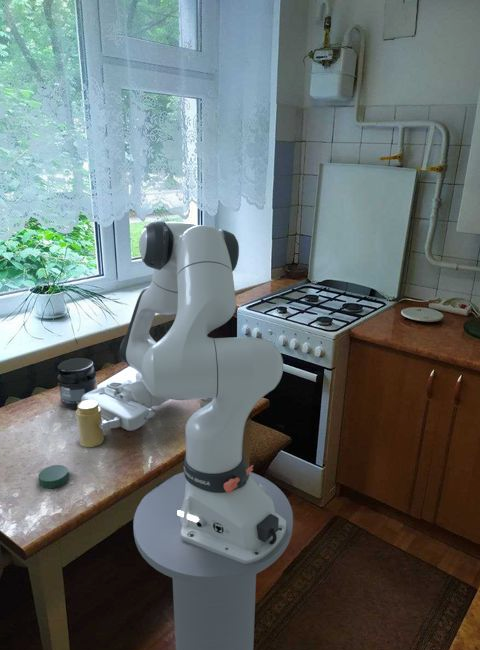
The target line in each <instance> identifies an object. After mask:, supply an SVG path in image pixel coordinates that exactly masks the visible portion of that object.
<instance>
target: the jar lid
mask: <svg viewBox="0 0 480 650" xmlns="http://www.w3.org/2000/svg"><path fill="white" fill-rule="evenodd" d="M69 473H70V472H69V470H68V467H66V466H65V465H62V464H54V465H49V466H47V467H45V468H43V469H42V470H41V471H40V472H39V473H38V483H39V485H40V486H41V487H42V488H45V489H56V488H59V487H61V486H63V485H65V484H66V483H67V482H68V481H69V478H70V474H69Z"/></svg>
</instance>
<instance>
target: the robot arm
mask: <svg viewBox="0 0 480 650" xmlns="http://www.w3.org/2000/svg"><path fill="white" fill-rule="evenodd" d="M138 240H139V241H138V249H139V253H140V256H141V260H142V262H143V263H144V264H145V266H146V267H149V268H151V269H153V271H152V277H151V281H150V284H149V285H148V286H146V287H144V288H143V289H142V291H141V292H140V293H139V295H138V298H137V300H136V303H135V304H134V305H135V306H134V309H133V313H132V315H131V318H130V321H129V325H128V327H127V330H126V334H125V335H124V337H123V339H122V341H121V343H120V345H119V358H120V361H121V362H122V363H123V364H125V365H127V366H128V367H129V366H130V367H132V368H134V369H135V370H136V371H138V372H139V373H140V374H141V375H142V380H141V381H136V382H133V383H131V384H130V383H116V382H110V383H107V387H100V388H97V389H95V390H92V391H90V392H88V393H86V394H84V395H83V396H82V398H81V401H85V400H95V401H97V402H98V404H99V407H100V408H101V416H102V419H103V420H102V422H100V423H99V428H100V429H102V430H103V432H104V431H106V430H108V429H115V428H119V427H120V428H122V429H124V430H126V431H129V432H131V431H135V430H137V429H139V428H141V427H142V426H143V425H145V424H146V423H147V422H148V421H149V419H151V418H154V417H155V415H156V412H155V410H154V408H153V407H158V406H161V405H162V404H165V403H166V402H168V401H169V400H173V401H174V400H175V401H189V400H201V399H205V398H214V399H213V400H212V401H211V402H210V403H208V404H207V405H205V406H204V407H202V408H201V407H200V408H199V409H197V410H196V411H194V412H193V413H192V415H191V416H190V417H189V419H188V420H187V422H186V425H185V427H184V428H185V429H184V430H185V432H184V433H185V435H184V436H185V455H184V457H183V472H184V475H185V478H186V487H185V495H184V501H183V505H182V508H181V511H179V510H178V515H179V516H180V522H181V525H182V528H181V534H180V537H181V539H182V540H183V541H186V542H188V543H191V544H194V545H196V546H199V547H201V548H204V549H206V550H209V551H212V552H214V553H217V554H219V555H222V556H225V557H227V558H230V559H232V560H235V561H238V562H240V563H243V564H250V563H254V562H256V561H258V560H260V559H262V558H264V557H265V556H267V555H268V554H269V553H270V552H271V551H272V550H273V549H274V548H275V547H276V546H277V545H278V544H279V543H280V541H281V540H282V539H283V537H284V535H285V533H286V520H285V519H284V518H282V517H281V516H280V515H278V514H277V513H276V512H275V507H274V503H273V501H272V499H271V498H270V497H269V496H268V495H267V494H266V490H265V487H264V486H263V485H261V484H260V485H258V483H257V482H256V481H255V480H254V479H253V478H252V477H251V476H250V475H249V473H250V472H252V471H254V468H253V467H254V464H252V465H250V466H249V467H248V464H247V461H246V459H245V456H244V454H243V453H244V452H243V442H244V434H245V433H244V432H245V427H246V422H247V420H248V418H249V416H250V414H251V412H252V411H253V409H254V408H255V406H256V405H257V404H258V403H259V402H260V401H261V399H263V398H264V397H265V396H266V395H268V394H269V393H270V392H272V391H273V390H275V389H276V387H277V386H278V385H279V384H280V381H281V379H282V376H283V372H284V359H283V356H282V353H281V351H280V350H279V348H278V346H277V345H276V344H275V343H274V341H272V340H270V339H265V338H259V337H251V336H237V337H236V336H235V337H233V336H232V337H210V336H208V335H209V334H210V333H211V332H212V331H215V329H219V328H220V327H221V326H223V325H225V324H226V323H228V321H230V320H231V319H232V317H233V316H234V314H235V313H236V309H237V298H236V289H235V281H234V273H233V272H234V271H235V269H236V268H237V265H238V262H239V261H238V260H239V257H240V244H239V241H238V239H237V237H236V236H235V234H233V233H232V232H230V231H227V230H226V229H225V230H224V229H221V228H220V229H217V228H215V227H213V226H211V225H206V224H194V223H192V222H191V223H190V222H181V221H165V220H161V219H159V220H152V221H149V222H148V223H146V224H145V225H144V227H143V229H142V231H141V234H140V237H139V239H138ZM156 314H158V315H163V316H172V315H173V316H174V315H175V318H174V321H173V324H172V326H171V327H170V328H169V330H168V331H166V334H164V336H162V338H160V339H159V340H158V341H156V340H154V338H153V337H152V336H151V334H150V330H151V328H152V324H153V322H154V319H155V315H156ZM74 414H75V417H76V418H77V415H76V411H75V413H74ZM252 473H253V472H252ZM280 530H281V531H280ZM255 554H257V555H255Z"/></svg>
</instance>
